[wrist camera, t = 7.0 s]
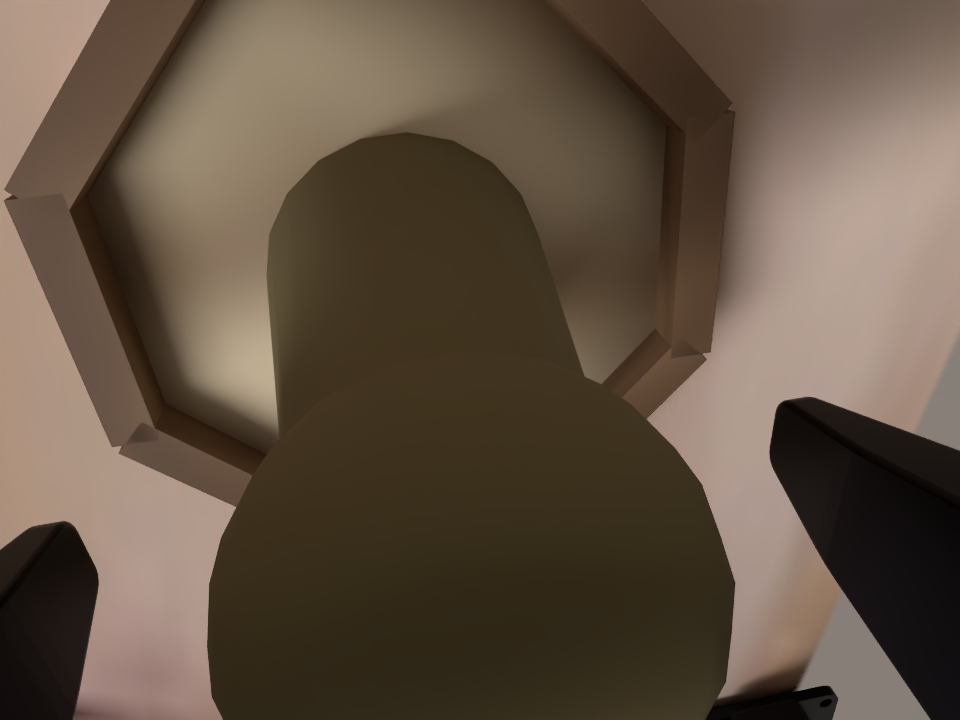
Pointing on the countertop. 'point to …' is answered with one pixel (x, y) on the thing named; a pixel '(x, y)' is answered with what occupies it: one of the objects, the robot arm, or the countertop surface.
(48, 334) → the countertop surface
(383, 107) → the tray
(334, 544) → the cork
